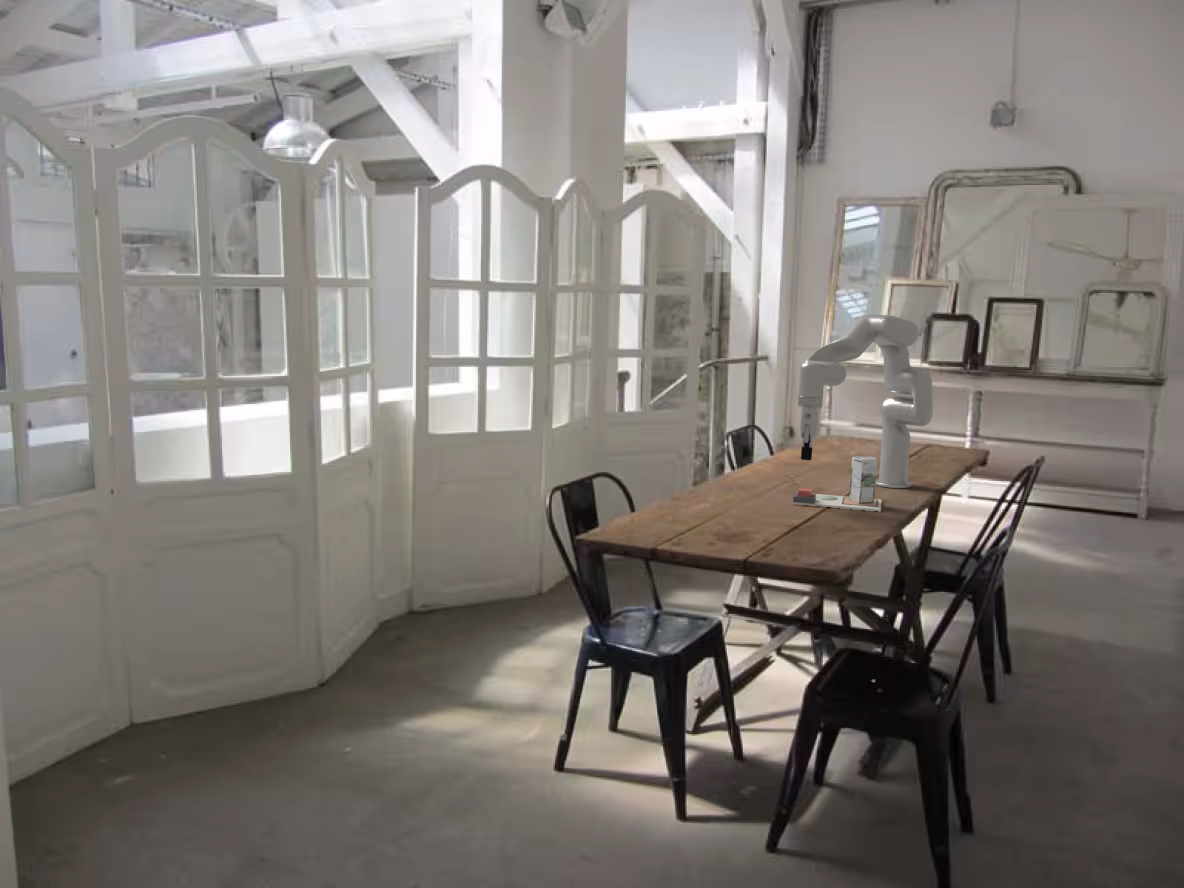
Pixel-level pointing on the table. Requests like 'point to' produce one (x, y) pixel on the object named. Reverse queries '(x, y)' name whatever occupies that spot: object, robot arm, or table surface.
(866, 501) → the syrup box
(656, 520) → the table surface
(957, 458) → the table surface
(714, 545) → the table surface
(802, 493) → the button
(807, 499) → the picture board
